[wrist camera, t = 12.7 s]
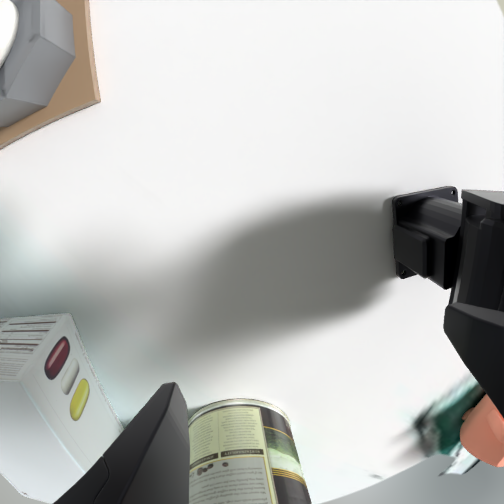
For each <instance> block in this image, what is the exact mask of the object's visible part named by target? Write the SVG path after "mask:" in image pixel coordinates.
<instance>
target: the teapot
mask: <svg viewBox="0 0 504 504" xmlns="http://www.w3.org/2000/svg"><path fill="white" fill-rule="evenodd" d="M462 420H465V421H464V423H463V424H462V426H461V428H460V441H461V444H462V445H463V446H464V448H465V449H466V450H467V451H468V452H469V453H471V454H472V455H473V456H475V457H476V458H478V459H480V460H482V461H484V462H486V463H488V464H490V465H493V466H495V467H502V466H504V418H503V417H502V415H501V414H500V412H499V411H498V409H497V408H496V407H495V405H494V404H493V402H492V401H491V399H490V398H489V397H488V395H487V394H486V395H485V396H484V397H483V398H482V400H481V401H480V402H479V403H478V404H477V406H476V407H475V408H470V409H469V410H467V411H466V412H465V414H464V415H463V417H462Z"/></svg>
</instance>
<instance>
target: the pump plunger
mask: <svg viewBox="0 0 504 504" xmlns="http://www.w3.org/2000/svg"><path fill="white" fill-rule="evenodd" d="M18 24H19V13H18V9H17V7H16V5H15V4H14V3H13V2H12V1H10V0H0V68H1V66H2V65H3V63H4V61H5V60H6V58H7V56H8V54H9V52H10V50H11V48H12V45H13V43H14V40H15V37H16V34H17V30H18Z"/></svg>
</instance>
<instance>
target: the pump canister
mask: <svg viewBox="0 0 504 504" xmlns="http://www.w3.org/2000/svg"><path fill="white" fill-rule="evenodd" d="M10 1H12V2H13V3H14V4H15V5H16V7H17V9H18V13H19V24H18V30H17V34H16V37H15V40H14V43H13V45H12V48H11V50H10V52H9V54H8V56H7V58H6V60H5V61H4V63H3V65H2V66H1V68H0V149H2V148H3V147H5V146H7V145H9V144H10V143H12V142H14V141H16V140H18V139H19V138H21V137H23V136H25V135H27V134H29V133H31V132H33V131H35V130H37V129H39V128H41V127H43V126H45V125H47V124H49V123H51V122H54V121H56V120H58V119H60V118H62V117H65V116H67V115H69V114H72V113H74V112H76V111H79V110H81V109H83V108H86V107H88V106H91V105H94V104H96V103H99V102H101V100H100V94H99V87H98V81H97V74H96V67H95V59H94V51H93V42H92V33H91V22H90V9H89V0H10Z"/></svg>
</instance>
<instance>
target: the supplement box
mask: <svg viewBox="0 0 504 504" xmlns="http://www.w3.org/2000/svg"><path fill="white" fill-rule="evenodd" d="M123 430H124V428H123V426H122V424H121V422H120V420H119V419H118V417H117V415H116V413H115V411H114V409H113V407H112V406H111V404H110V402H109V400H108V398H107V396H106V394H105V392H104V390H103V388H102V385H101V383H100V381H99V379H98V377H97V375H96V373H95V370H94V368H93V366H92V364H91V362H90V359H89V357H88V355H87V352H86V350H85V347H84V345H83V342H82V340H81V338H80V335H79V333H78V330H77V328H76V325H75V323H74V320H73V317H72V315H71V314H70V313H59V314H47V315H36V316H24V317H11V318H0V473H1V474H2V475H3V476H4V477H5V478H6V479H7V481H8V482H10V484H11V485H12V486H13V487H14V488H15V489H16V490H17V491H18V492H19V493H20V494H21V495H23V496H26V497H28V498H32V499H35V500H39V501H42V502H46V503H50V504H53V503H54V502H55V501H56V500H57V499H59V498H60V497H61V496H62V495H63V494H64V493H65V492H66V491H67V490H69V489H70V488H71V487H72V486H73V485H74V484H75V483H76V482H77V481H78V480H79V479H80V478H81V477H82V476H83V475H84V474H85V473H86V472H87V471H88V470H89V469H90V468H91V467H92V466H93V465H94V464H95V462H96V461H97V460H98V459H99V458H100V457H101V456H103V453H104V452H105V451H106V450H107V449H108V448H109V446H110V445H111V444H112V443H113V442H114V441H115V439H116V438H117V437H118V436H119V435H120V434H121V432H122V431H123Z"/></svg>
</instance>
